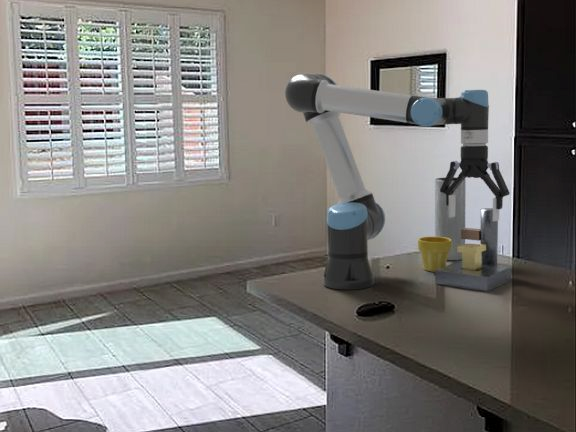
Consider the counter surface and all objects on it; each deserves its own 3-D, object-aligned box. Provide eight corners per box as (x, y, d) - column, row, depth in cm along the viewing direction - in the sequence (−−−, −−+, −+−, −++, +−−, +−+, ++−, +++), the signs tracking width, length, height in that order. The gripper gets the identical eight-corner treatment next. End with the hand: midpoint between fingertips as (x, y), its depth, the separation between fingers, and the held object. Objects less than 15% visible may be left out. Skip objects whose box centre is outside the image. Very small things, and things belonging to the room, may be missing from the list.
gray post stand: (433, 283, 197) (433, 215, 194) (466, 269, 212) (466, 206, 210) (487, 291, 186) (487, 220, 183) (517, 276, 202) (518, 210, 199)
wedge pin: (458, 282, 197) (457, 246, 196) (467, 278, 201) (466, 243, 200) (477, 284, 193) (476, 247, 192) (486, 280, 197) (485, 244, 196)
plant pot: (455, 267, 216) (455, 237, 214) (444, 274, 207) (444, 243, 206) (425, 264, 221) (424, 235, 220) (413, 271, 213) (412, 240, 211)
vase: (470, 259, 226) (470, 179, 222) (442, 261, 225) (442, 180, 221) (457, 253, 236) (457, 176, 232) (430, 255, 234) (430, 178, 230)
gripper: (428, 145, 197) (428, 217, 200) (511, 146, 180) (509, 224, 184) (441, 143, 202) (440, 213, 206) (522, 144, 186) (520, 220, 189)
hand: (473, 218), depth 195 cm, fingers open, 13 cm apart
